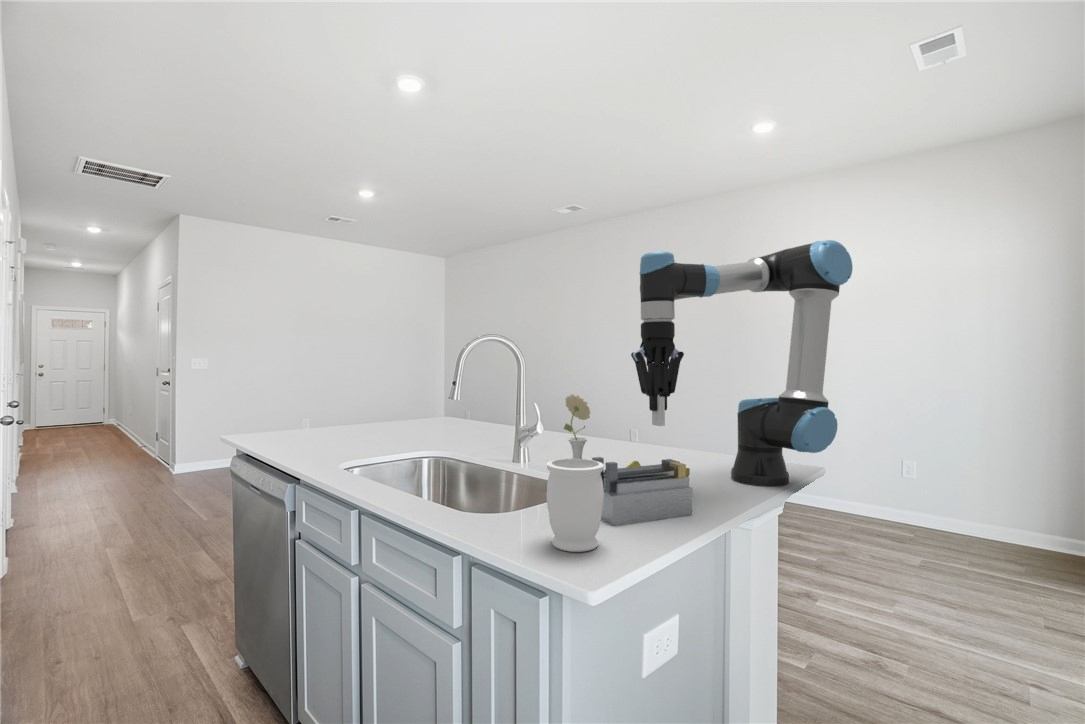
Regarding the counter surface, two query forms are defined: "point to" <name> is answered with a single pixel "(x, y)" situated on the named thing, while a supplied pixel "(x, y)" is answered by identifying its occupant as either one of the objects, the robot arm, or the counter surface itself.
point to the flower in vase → (582, 412)
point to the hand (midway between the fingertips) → (658, 425)
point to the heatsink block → (645, 495)
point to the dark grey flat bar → (646, 469)
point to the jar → (575, 503)
